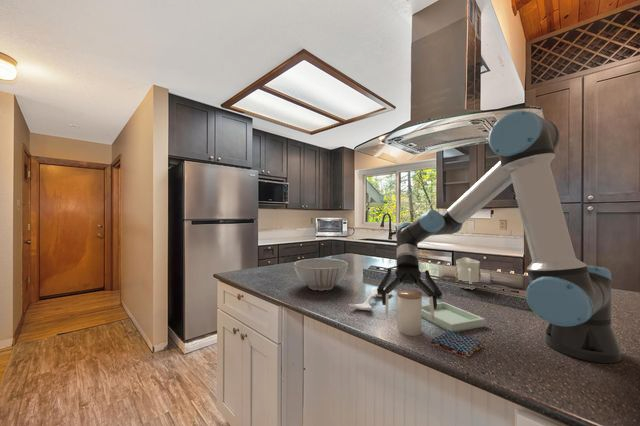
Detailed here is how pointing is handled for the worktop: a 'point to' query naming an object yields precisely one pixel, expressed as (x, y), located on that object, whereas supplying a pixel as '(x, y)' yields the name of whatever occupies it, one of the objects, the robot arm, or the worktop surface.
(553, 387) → the worktop surface
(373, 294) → the spoon
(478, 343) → the woven mat
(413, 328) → the canister
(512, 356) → the worktop surface
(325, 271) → the decorative bowl
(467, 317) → the tray
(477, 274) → the pitcher
